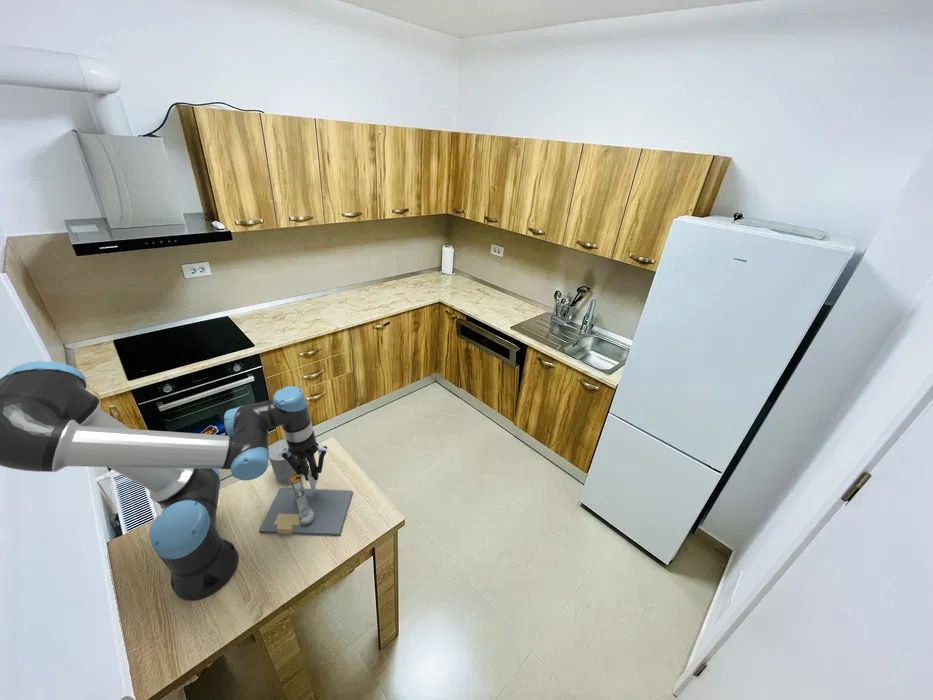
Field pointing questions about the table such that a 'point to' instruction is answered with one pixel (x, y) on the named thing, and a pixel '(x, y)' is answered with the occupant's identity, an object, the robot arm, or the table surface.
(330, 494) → the plate
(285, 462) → the grey cylinder
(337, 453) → the table surface
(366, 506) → the table surface
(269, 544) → the table surface
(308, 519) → the bar
